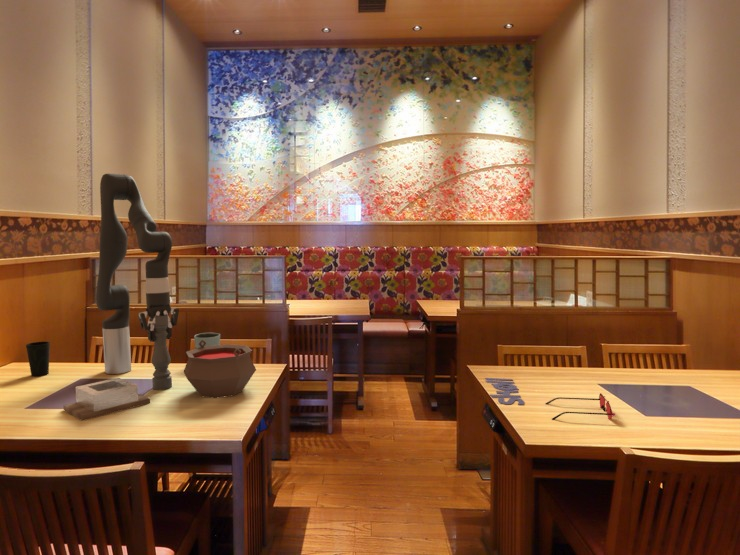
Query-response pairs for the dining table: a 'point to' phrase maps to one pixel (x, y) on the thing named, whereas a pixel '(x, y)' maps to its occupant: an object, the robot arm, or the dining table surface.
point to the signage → (505, 391)
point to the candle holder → (161, 355)
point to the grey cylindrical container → (207, 339)
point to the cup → (38, 358)
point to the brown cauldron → (219, 369)
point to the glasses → (602, 405)
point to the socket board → (86, 413)
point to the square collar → (106, 394)
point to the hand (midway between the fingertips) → (160, 340)
